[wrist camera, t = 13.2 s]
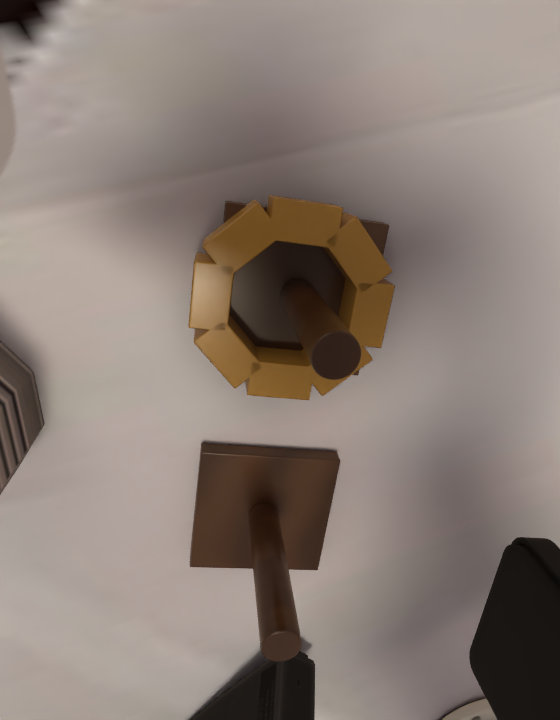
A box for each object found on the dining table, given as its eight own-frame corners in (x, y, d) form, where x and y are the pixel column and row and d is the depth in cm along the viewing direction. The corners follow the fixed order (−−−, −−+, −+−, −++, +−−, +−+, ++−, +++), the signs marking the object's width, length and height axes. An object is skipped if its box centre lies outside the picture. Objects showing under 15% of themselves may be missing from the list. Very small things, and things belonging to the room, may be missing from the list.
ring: (393, 213, 28) (410, 217, 25) (356, 387, 31) (368, 405, 29) (202, 184, 26) (200, 186, 24) (185, 371, 30) (182, 390, 27)
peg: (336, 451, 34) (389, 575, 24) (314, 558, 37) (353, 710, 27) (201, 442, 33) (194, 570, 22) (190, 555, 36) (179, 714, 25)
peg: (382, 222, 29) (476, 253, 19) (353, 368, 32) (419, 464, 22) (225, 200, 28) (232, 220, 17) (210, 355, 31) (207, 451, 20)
